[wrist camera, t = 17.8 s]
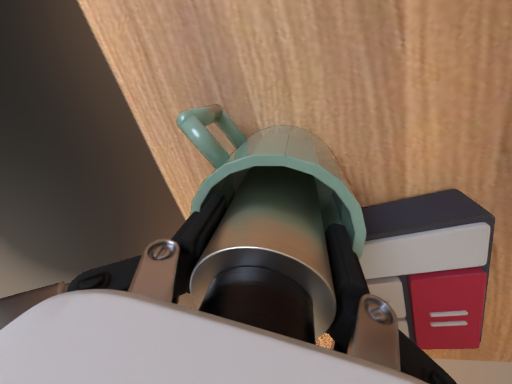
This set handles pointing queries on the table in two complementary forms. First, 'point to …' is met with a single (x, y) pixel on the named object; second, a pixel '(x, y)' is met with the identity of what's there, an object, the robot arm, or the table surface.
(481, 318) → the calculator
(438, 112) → the table surface
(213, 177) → the mug
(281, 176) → the flask
